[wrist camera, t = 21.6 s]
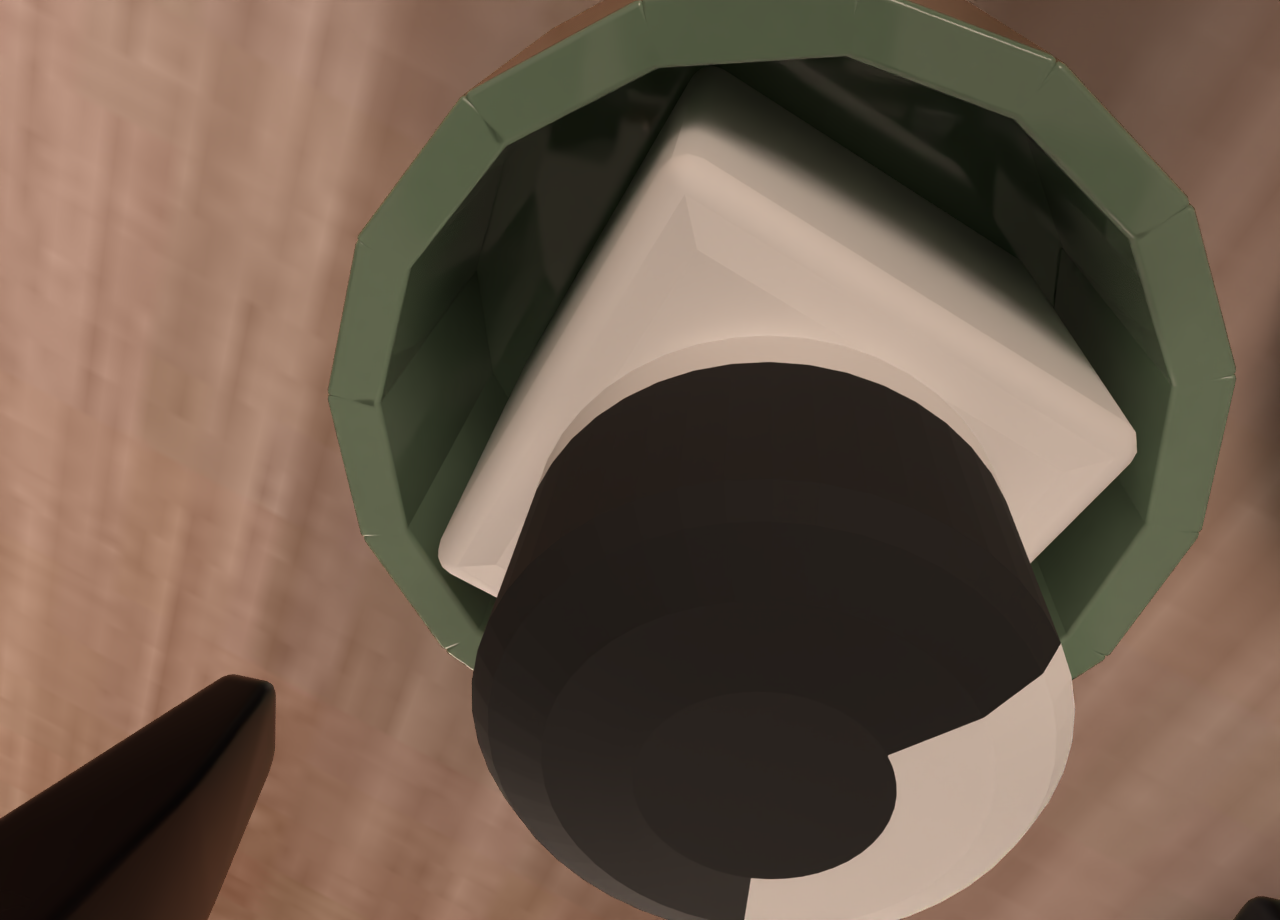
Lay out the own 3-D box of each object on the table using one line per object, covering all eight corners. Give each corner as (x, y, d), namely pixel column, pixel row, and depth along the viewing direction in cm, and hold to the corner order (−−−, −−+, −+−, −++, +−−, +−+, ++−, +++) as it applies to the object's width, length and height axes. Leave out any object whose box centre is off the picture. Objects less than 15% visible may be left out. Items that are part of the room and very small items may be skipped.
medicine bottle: (521, 368, 21) (292, 841, 11) (704, 53, 18) (623, 302, 8) (809, 531, 23) (849, 1093, 12) (1031, 264, 19) (1349, 728, 9)
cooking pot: (1174, -281, 15) (1409, -368, 10) (1037, 656, 24) (1120, 894, 19) (364, -201, 17) (169, -237, 11) (512, 651, 26) (442, 869, 20)
